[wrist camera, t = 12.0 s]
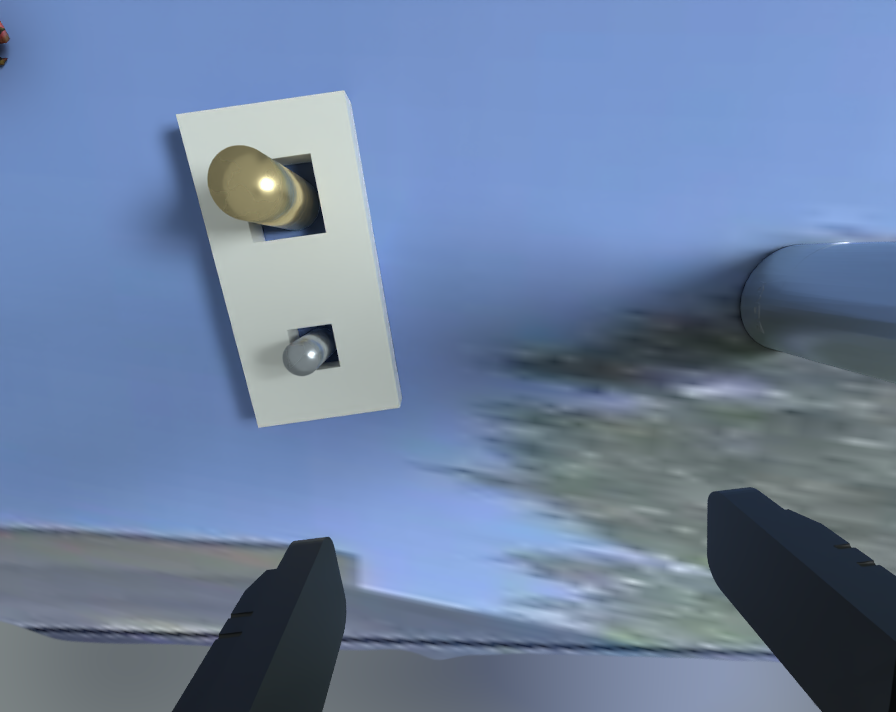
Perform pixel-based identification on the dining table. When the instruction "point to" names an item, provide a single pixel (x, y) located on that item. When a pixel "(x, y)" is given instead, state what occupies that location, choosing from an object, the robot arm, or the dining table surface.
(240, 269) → the plate
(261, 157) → the cylinder
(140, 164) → the dining table surface
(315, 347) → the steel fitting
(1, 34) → the dragon fruit
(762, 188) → the dining table surface
